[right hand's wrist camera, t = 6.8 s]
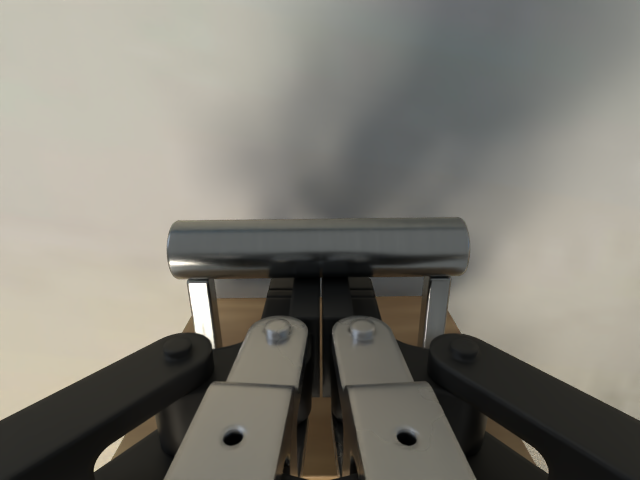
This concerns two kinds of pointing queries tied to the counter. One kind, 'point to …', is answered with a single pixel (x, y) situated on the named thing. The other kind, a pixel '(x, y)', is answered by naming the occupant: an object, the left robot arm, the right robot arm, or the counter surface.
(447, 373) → the right robot arm
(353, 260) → the drawer
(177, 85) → the counter surface
